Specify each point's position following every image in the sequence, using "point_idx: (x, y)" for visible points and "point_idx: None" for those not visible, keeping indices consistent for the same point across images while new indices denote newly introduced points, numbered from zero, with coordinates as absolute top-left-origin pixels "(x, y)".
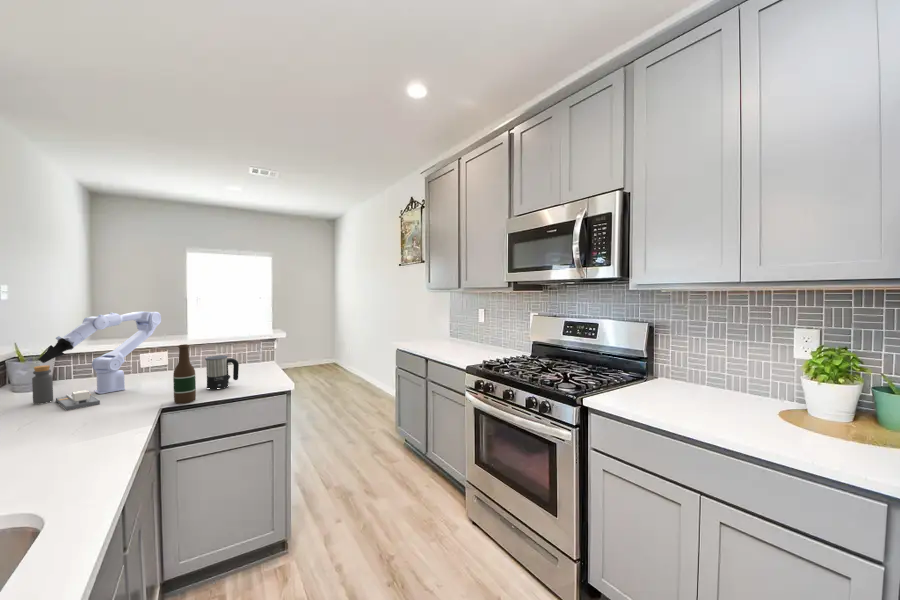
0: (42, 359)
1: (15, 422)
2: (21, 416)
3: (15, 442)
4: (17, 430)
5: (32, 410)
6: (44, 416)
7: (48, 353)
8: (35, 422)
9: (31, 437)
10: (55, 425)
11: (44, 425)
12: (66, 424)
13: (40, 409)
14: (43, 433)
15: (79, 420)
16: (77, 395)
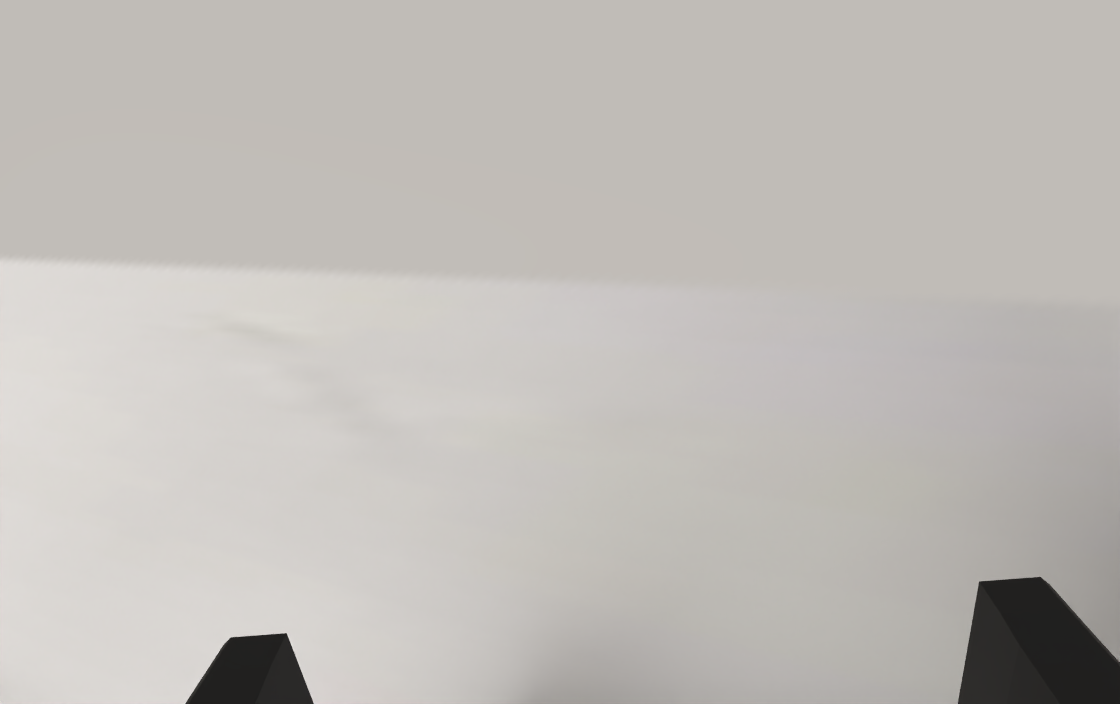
0: (991, 681)
1: (471, 329)
2: (659, 390)
3: (17, 293)
4: (231, 321)
5: (866, 515)
6: (461, 540)
7: (212, 676)
8: (328, 445)
9: (24, 368)
10: (125, 530)
11: (190, 475)
12: (83, 590)
13: (837, 588)
14: (33, 432)
15: (93, 692)
16: None
